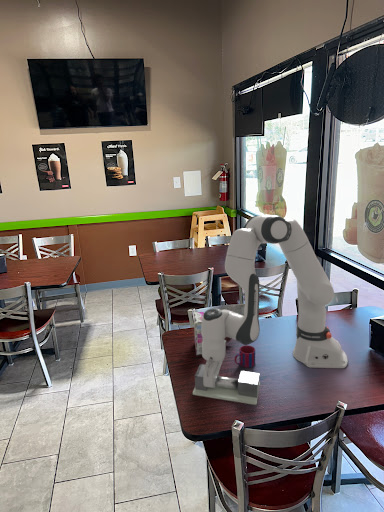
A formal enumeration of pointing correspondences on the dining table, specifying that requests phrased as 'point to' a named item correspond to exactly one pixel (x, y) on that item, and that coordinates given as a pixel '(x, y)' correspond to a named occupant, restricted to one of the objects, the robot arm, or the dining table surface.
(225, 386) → the tube
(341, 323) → the dining table surface
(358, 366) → the dining table surface
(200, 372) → the socket
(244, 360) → the mug
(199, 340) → the candy bar box
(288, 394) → the dining table surface
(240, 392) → the dark grey cube cap
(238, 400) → the board
